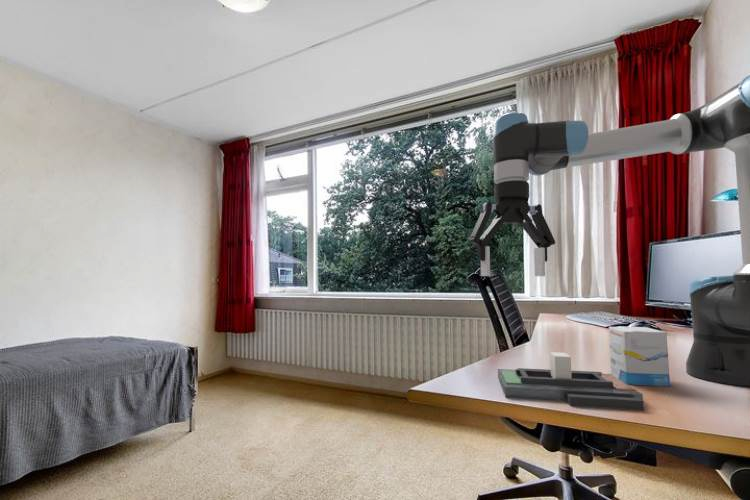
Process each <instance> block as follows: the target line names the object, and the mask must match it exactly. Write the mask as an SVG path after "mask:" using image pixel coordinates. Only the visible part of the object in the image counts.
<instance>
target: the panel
mask: <svg viewBox="0 0 750 500" xmlns="http://www.w3.org/2000/svg"><path fill="white" fill-rule="evenodd" d="M524 369H525V368H524ZM524 369H518V368H516V369H508V368H507V369H506V368H497V379H498V381H499V382H498V383H499V384H500V387H501V389H502V392H503V395H504V397H505V398H514V399H515V398H517V399H531V400H532V399H533V400H547V401H563V402H568V400H567V394H578V395H595V396H612V397H629V398H640V399H641V400H643V401H644V395H643V393H642V392H639V390H637V389H635V388H633V387H632V386H631V385H630V384H626V383H625V382H623V381H621V380H619V379H618V378H616V377H615V376H613V375H612V374H611V373H603V374H600V373H590V372H571V376H572V379H563V378H553V377H552V376H551V371H546V370H547V369H546V370H524Z"/></svg>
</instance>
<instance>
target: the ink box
mask: <svg viewBox="0 0 750 500" xmlns="http://www.w3.org/2000/svg"><path fill="white" fill-rule="evenodd" d="M608 337H609V340H608V341H609V358H610V359H609V360H610V374H612V375H613V376H615V377H616V378H618V379H619V380H621V381H623V382H624V383H626V384H627V385H635V386H654V387H656V386H657V387H658V386H659V387H661V386H662V387H671V381H670V365H669V363H670V362H669V350H668V349H669V348H668V339H667V338H668V335H667V332H665V331H662V330H659V329H654V328H650V327H647V326H626V325H625V326H623V325H622V326H621V325H619V326H608Z"/></svg>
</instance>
